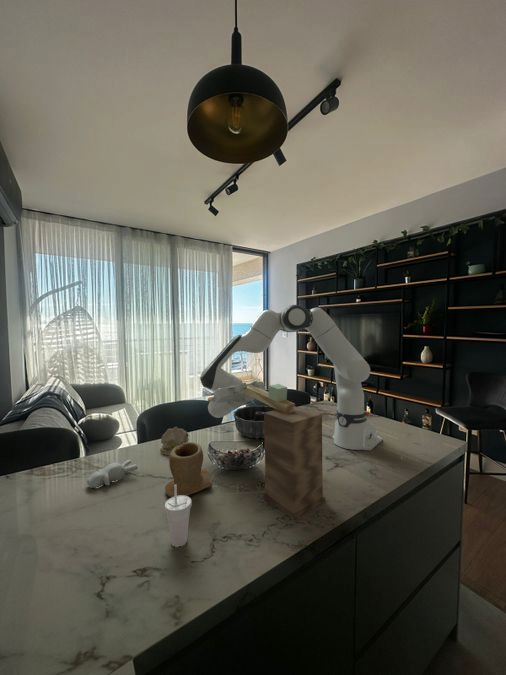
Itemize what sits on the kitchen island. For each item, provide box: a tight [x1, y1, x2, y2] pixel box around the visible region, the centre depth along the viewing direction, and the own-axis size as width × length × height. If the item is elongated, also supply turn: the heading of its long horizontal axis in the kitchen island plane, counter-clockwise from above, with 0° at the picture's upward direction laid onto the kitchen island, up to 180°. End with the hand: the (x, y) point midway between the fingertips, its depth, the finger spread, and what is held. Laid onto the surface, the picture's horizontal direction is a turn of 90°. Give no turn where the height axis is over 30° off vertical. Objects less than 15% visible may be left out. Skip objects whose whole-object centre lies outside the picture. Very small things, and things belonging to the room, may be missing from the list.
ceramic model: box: [159, 426, 190, 456], centre depth 125 cm, size 14×11×10 cm
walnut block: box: [262, 405, 326, 520], centre depth 88 cm, size 13×13×26 cm
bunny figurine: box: [86, 459, 139, 489], centre depth 101 cm, size 10×5×15 cm
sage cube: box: [268, 383, 288, 402], centre depth 92 cm, size 4×4×4 cm
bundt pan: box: [232, 405, 277, 440], centre depth 144 cm, size 26×26×10 cm
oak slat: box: [243, 385, 296, 414], centre depth 96 cm, size 4×22×2 cm, turn 37°
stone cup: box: [164, 441, 213, 498], centre depth 94 cm, size 15×12×15 cm
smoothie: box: [164, 485, 193, 548], centre depth 71 cm, size 6×6×14 cm
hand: (250, 384), depth 103 cm, fingers closed on oak slat, 3 cm apart
